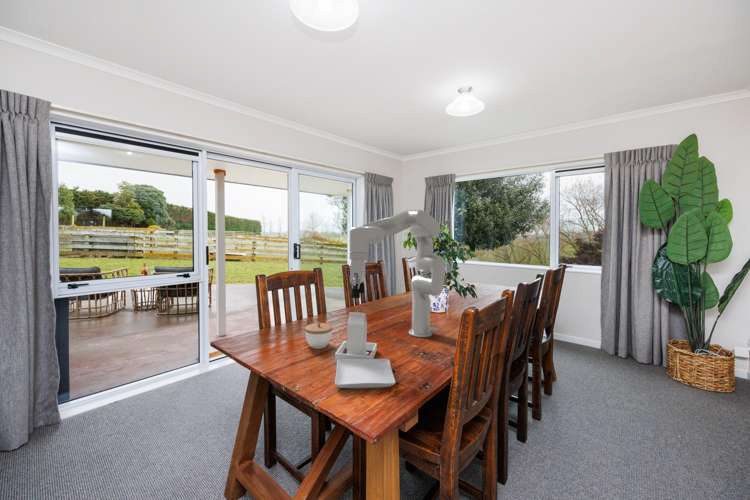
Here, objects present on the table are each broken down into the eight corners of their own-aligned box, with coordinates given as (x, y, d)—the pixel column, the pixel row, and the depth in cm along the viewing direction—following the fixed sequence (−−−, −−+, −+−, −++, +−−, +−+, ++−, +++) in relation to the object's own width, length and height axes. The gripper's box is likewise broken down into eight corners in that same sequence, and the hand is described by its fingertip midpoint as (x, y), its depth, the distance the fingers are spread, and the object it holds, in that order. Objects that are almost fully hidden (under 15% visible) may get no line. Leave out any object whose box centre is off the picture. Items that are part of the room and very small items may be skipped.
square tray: (376, 350, 147) (376, 343, 146) (370, 364, 132) (371, 356, 131) (344, 348, 149) (344, 340, 149) (335, 361, 134) (335, 353, 134)
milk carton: (362, 359, 136) (363, 315, 134) (346, 358, 137) (347, 314, 136) (366, 353, 143) (367, 311, 141) (350, 351, 144) (351, 310, 143)
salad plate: (337, 366, 130) (337, 358, 130) (389, 365, 132) (389, 357, 132) (334, 393, 109) (334, 383, 109) (396, 392, 111) (396, 382, 110)
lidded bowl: (336, 348, 149) (336, 324, 148) (310, 353, 143) (310, 328, 142) (326, 339, 160) (326, 317, 159) (301, 343, 153) (301, 321, 153)
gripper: (354, 253, 146) (354, 290, 148) (344, 257, 129) (345, 299, 131) (370, 254, 145) (370, 291, 147) (363, 258, 128) (363, 300, 130)
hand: (358, 295), depth 139 cm, fingers open, 9 cm apart
